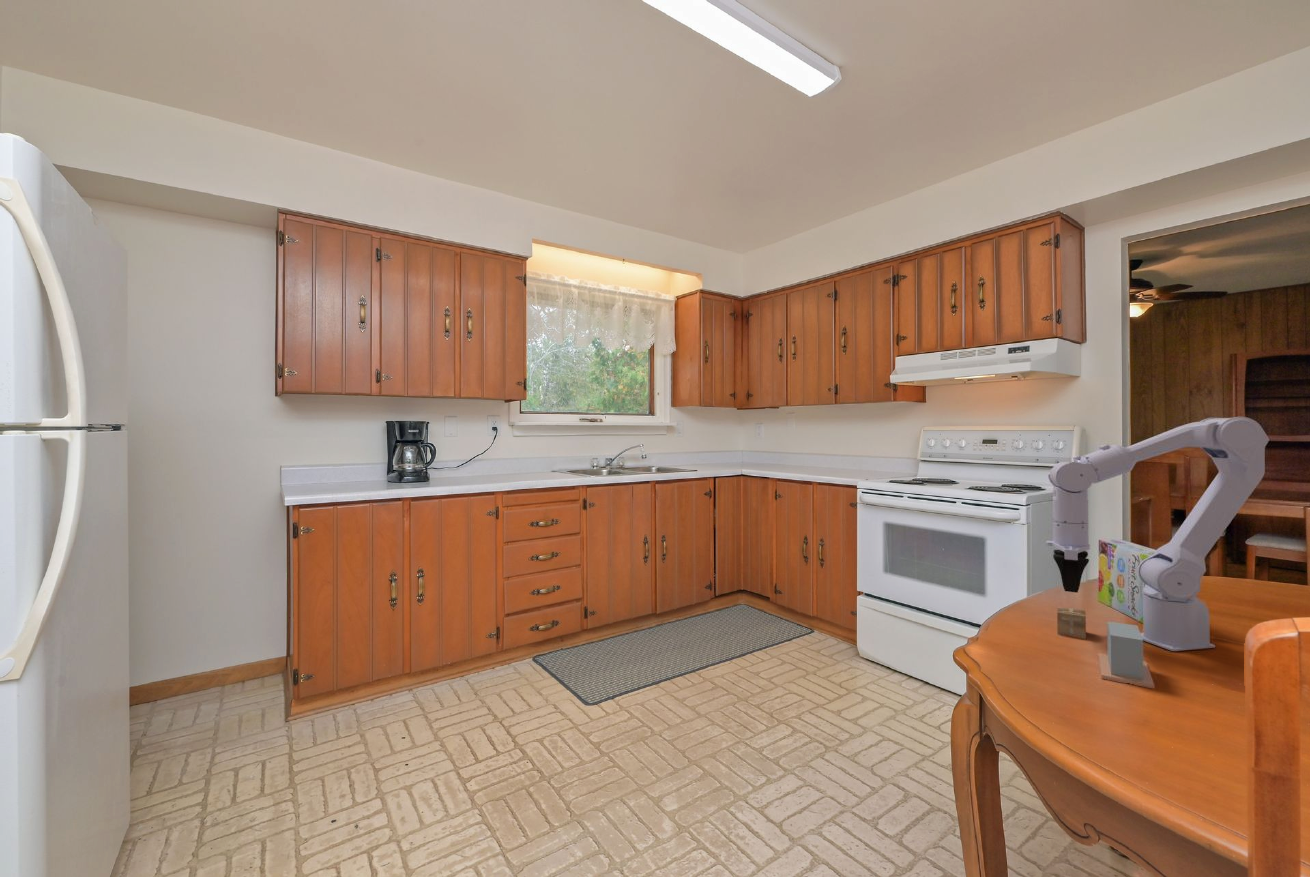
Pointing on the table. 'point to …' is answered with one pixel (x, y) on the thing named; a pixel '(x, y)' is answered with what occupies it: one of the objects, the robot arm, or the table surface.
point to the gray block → (1125, 650)
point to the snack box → (1122, 576)
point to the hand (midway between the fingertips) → (1070, 588)
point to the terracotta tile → (1107, 675)
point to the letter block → (1071, 622)
